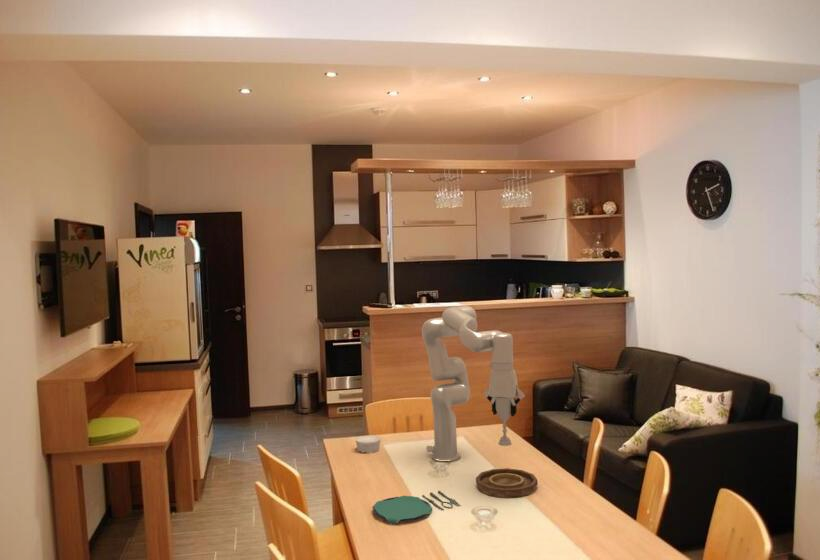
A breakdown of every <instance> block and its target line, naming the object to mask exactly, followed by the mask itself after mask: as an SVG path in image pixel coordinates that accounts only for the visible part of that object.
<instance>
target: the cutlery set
mask: <svg viewBox="0 0 820 560" xmlns="http://www.w3.org/2000/svg"><path fill="white" fill-rule="evenodd" d="M437 493H438V494H439V495H441V496H442V497H443V498H445V499H446V500H448V501H449V502H448V501H443V500H442V499H441V498H440V497H439V496H437V495H436V494H434V492H429V495H430V496H432V497H433V498H434V499H435V498H436V500H438V501H439V502H441V506H444V508H447V509H452V508H453V507H454V506H456V507H462V505H461V504H460V503H459V502H458V501H456V499H454V498H451V497H449V496H447V495H446V494H445V493H444V492H442V491H441V490H438V491H437ZM422 498H425V499H427V500H428V501H429V502H428V501H426V500H424V499H422ZM422 498H420V497H418V496H411V495H401V496H394V497H388V498H385V499H381V500H378V501H376V502H375V504H373V505H372V507H371V508H372V511H373V512H374V514H375V515H376V516H377V517H379V518H381V519H384V520H387V522H388V523H389V524H390V525H394V524H395V525H396V524H397V523H398V522H409V521H417V520H419V519H423V518H424V517H426V516H430V514H431V513H432V511H433V507H432V506H431V504H430V503H432V504H433V506H435V507H436V508H437V507H438V510H440V509H441V511H445V509H444V508H443V507H441V506H440V505H439V504H437V503H435V500H433V499H431V498H429V497H427V496H425V495H424V494H422ZM443 503H447V505H450V506H451V507H448V506H445V505H444V504H443Z"/></svg>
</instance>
